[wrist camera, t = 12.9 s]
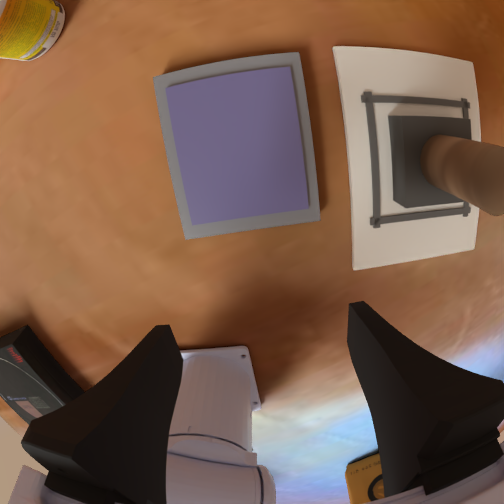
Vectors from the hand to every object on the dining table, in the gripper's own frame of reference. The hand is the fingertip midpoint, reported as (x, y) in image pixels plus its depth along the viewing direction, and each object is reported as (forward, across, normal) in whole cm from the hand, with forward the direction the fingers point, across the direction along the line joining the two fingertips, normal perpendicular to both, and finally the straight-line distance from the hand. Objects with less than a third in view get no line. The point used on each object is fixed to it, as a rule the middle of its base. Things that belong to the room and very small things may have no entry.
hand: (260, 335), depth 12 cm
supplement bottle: (+11, +14, -20) cm, 27 cm away
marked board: (+11, -13, -4) cm, 17 cm away
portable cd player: (+10, +32, +17) cm, 38 cm away
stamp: (+10, -13, -4) cm, 17 cm away
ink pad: (+10, 0, -6) cm, 12 cm away
